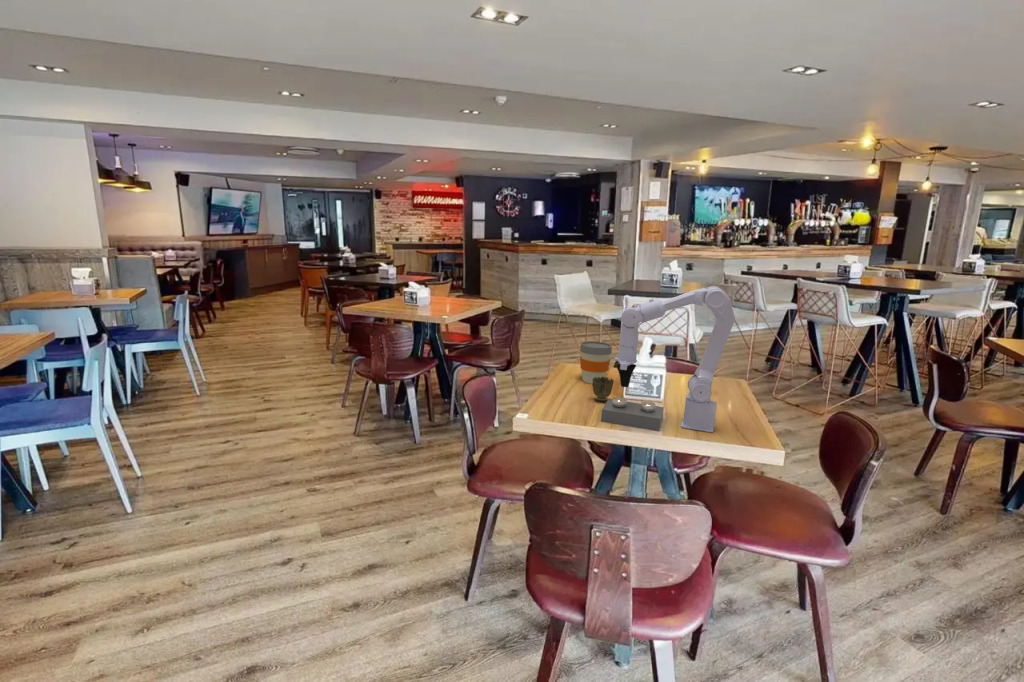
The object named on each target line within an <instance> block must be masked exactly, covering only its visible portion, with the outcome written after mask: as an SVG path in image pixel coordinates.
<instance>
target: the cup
mask: <svg viewBox="0 0 1024 682" xmlns="http://www.w3.org/2000/svg"><path fill="white" fill-rule="evenodd" d="M613 386H614V379H613V378H610V379H609V378H608V376H607V377H601V378H599V377H598V379H597V377H595V378H594V379H593V384H592V391H593V394H594V395H595V397H596V401H597V402H600V403H601V402H602V403H603V402H604V403H606V402H607V401H608V397H610V395H612V390H613Z"/></svg>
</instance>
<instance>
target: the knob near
mask: <svg viewBox="0 0 1024 682" xmlns="http://www.w3.org/2000/svg"><path fill="white" fill-rule="evenodd" d="M640 404H641V410H642V411H645V412H654V411H655V406H657V405H656V403H654V402H652V401H641V403H640Z"/></svg>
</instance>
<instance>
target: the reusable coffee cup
mask: <svg viewBox="0 0 1024 682" xmlns="http://www.w3.org/2000/svg"><path fill="white" fill-rule="evenodd" d="M579 351H580V357H579V362H580V363H579V365H580V369H581V379H582V381H583V382H584V383H586V384H591V385H593V379H594V378H595V377H597V379H598V377H599V378H601V377H605V378H606V376H607V372H608V371H609V368H610V364H611V359H610V358H611V354H612V344H610V343H608V342H607V343H606V342H604V341H603V342H601V341H583V342H581V344H580V349H579Z"/></svg>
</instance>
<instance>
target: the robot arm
mask: <svg viewBox="0 0 1024 682" xmlns="http://www.w3.org/2000/svg"><path fill="white" fill-rule="evenodd" d="M704 304H705V306H707V308H709V310H710V311H711V312H712V313H713V315H714V317H715V319H716V321H715V323H714V325H713V327H712V331H711V333H710V336H709V338H708V342H707V344H706V346H705V349H704V352H703V353H702V357H701V359H700V362H699V365H698V367H697V368H696V369H695V372H694V374H693V375H692V376H691V377H690V378H688V382H687V387H688V389H689V392H688V393H687V394H686V396H685V402H684V411H683V418H682V419H681V423H680V427H681V428H684V429H689V430H694V431H699V432H700V431H701V432H707V433H714V428H715V425H716V412H717V401H713V400H711V396H712V393H713V391H712V384H713V381H714V376H715V373H716V370H717V367H718V364H719V362H720V359H721V356H722V354H723V351H724V350H725V349H724V348H725V347H726V343H727V342H728V338H729V336H730V333H731V331H732V328H733V325H734V324H735V320H736V317H735V313H734V309H733V305H732V299H731V298H730V297H729V295H728V294H727V293H726V292H725V291H724V289H721V288H720V287H719V286H716V285H712V286H708V287H702V288H698V289H694V290H691V291H690V290H689V291H688V292H686V293H683V294H680V295H677V296H675V297H672V298H669V299H666V300H661V299H659V298H656V299H654V298H650V299H649V301H647V302H644V303H640V304H634V307H632V306H630V307H627V308H625V309H624V310H623V311H622V314H621V317H620V319H621V325H620V331H619V332H620V333H619V343H618V355H617V356H615V357H614V358H613V360H614V361H617V362H618V363H617V364H616V369H617V372H618V374H619V380H620V386H621V388H628V387H629V386H630V382H631V380H632V379H631V378H632V375H633V373H634V370H635V369H636V367H637V362H638V360H637V357H638V356H637V355H638V345H639V344H638V343H639V333H640V332H639V325H640V323H647V322H651V321H653V320H656V319H660V318H663V317H664V316H665V313H666V312H668V311H671V310H675V309H678V308H683V307H685V306H686V307H687V306H689V305H696V306H700V307H703V306H704Z"/></svg>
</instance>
